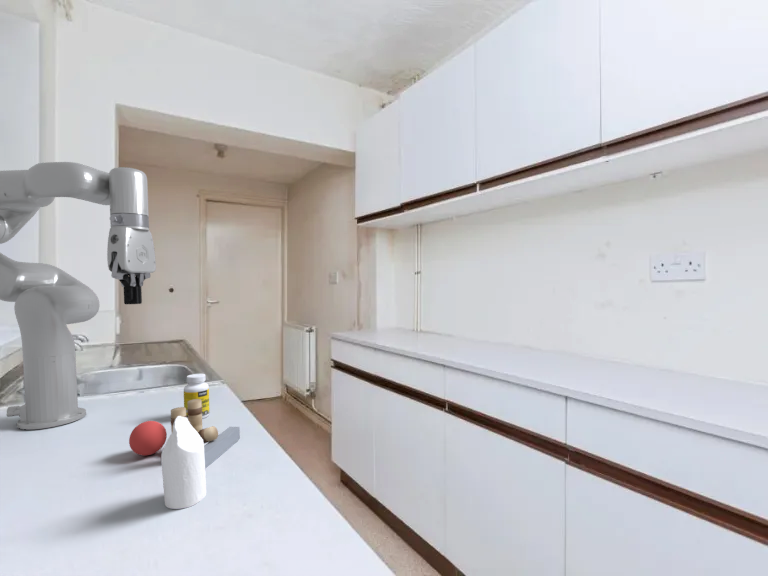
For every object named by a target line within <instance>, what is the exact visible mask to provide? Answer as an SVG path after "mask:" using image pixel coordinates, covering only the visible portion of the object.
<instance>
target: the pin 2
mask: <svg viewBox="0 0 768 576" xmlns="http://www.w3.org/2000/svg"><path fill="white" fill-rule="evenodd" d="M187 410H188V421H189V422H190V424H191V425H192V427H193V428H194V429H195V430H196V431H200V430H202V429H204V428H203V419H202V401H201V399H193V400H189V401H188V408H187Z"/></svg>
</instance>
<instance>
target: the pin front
mask: <svg viewBox="0 0 768 576" xmlns="http://www.w3.org/2000/svg"><path fill="white" fill-rule="evenodd" d="M197 432H198V434H199V435H200V437H201V438H202V439H203V442H204V444H207V443H208V442H210V441H212V440H215V439H217V437H218V435H219V431H218V428H217V427H216V426H213V425H212V426H209V427H205V428H203V429H202V430H200V431H197Z"/></svg>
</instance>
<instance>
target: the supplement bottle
mask: <svg viewBox="0 0 768 576" xmlns="http://www.w3.org/2000/svg"><path fill="white" fill-rule="evenodd" d="M206 379H207V378H206V374H205V373H193V374H189V375H187V376H186V383H187V384H186V385H185V386H184V387H183V407H185V408H186V416H187V419H188V410H187V408H188V401H189V400H193V399H201V401H202V420H203V419H205V418H207V417H209V416H210V386H209V384H208V383H207V382H205V381H206Z"/></svg>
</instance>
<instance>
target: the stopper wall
mask: <svg viewBox="0 0 768 576" xmlns="http://www.w3.org/2000/svg"><path fill="white" fill-rule="evenodd" d="M240 433H241V431H240V426H229V427H227V428H226V429H224V430H222V432H220V433H218V437H217V439H215V440H212V441H210V442H207V443H205V444H204V454H205V469H207V467H209V466H210V465H211V464H212V463H214V462H215V461H216V460H217V459H218V458H220V456H222V455H223V454H225V452H226V451H229V449H231V448H232V447H233V446H234V445H235V444H236V443H238V442H239V441H240V440H239V439H241V437H240V436H241V435H240ZM238 440H239V441H238Z"/></svg>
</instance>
